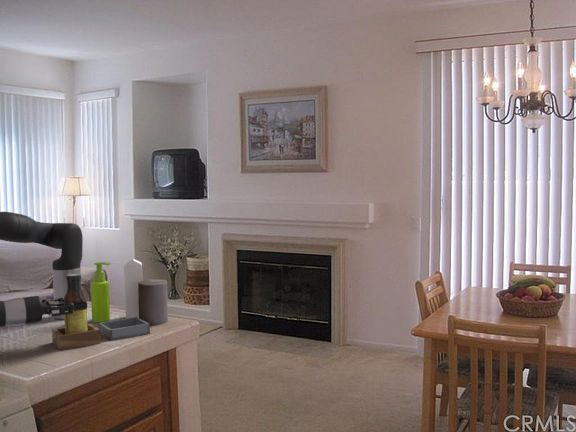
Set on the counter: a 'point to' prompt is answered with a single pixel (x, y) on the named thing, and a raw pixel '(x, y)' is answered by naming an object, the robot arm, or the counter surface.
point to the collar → (75, 338)
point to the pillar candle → (153, 301)
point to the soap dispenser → (100, 295)
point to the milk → (132, 287)
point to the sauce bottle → (74, 294)
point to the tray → (124, 328)
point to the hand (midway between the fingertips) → (83, 303)
